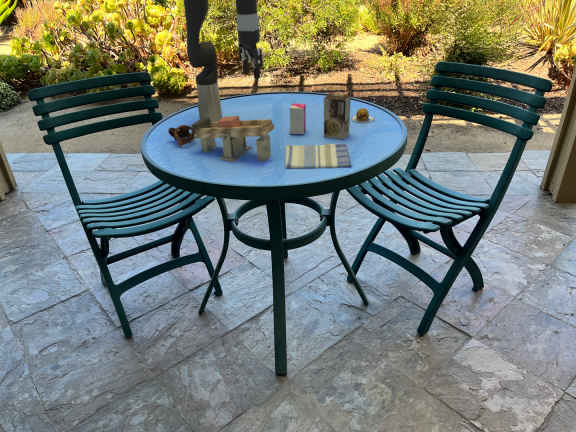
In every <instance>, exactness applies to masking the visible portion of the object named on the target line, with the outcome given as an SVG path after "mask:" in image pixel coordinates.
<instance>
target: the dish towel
mask: <svg viewBox="0 0 576 432" xmlns="http://www.w3.org/2000/svg"><path fill="white" fill-rule="evenodd" d="M284 167H285V169H333V168H334V169H339V168H341V167H343V168H350V167H352V163H351V158H350V154H349V150H348V147H347V144H346V143H331V144H330V143H327V144H325V143H324V144H323V145H322V144H321V145H317V144H316V145H315V144H302V145H292V144H288V145H285V165H284Z"/></svg>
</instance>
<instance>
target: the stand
mask: <svg viewBox="0 0 576 432" xmlns="http://www.w3.org/2000/svg"><path fill="white" fill-rule="evenodd" d="M270 137H271V136H270V134H267V135H266V136H263V137H258V138H257V139H256V140H255V145H256V156H257V158H256V159H257V162H260V163H265V161H267V160H268V159H269V158H270V157H272V153H271V151H272V150H271V140H270V139H271V138H270ZM199 139H200V145H201V152H202V153H206V154H209V152H211V151H213V150H215V148H217V145H216V144H217V143H216V138H199ZM221 140H222V142H221V143H222V147H223V154H222V155H220V157H219V160H220V161H226V162H231V163H235V162H236V161H237V160H239V159H240V158H241V157H242V156H243V155H245V154H246V153H247V152H248V151H250V150H252V145H247V137H230V134H228V133H222V138H221Z"/></svg>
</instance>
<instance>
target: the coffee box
mask: <svg viewBox="0 0 576 432" xmlns="http://www.w3.org/2000/svg"><path fill="white" fill-rule="evenodd" d="M350 117H351V94H344V93H343V94H341V93H330V92H329V93H327V94H326V96H324V98H323V137H324V138H328V139H329V138H330V139H335V140H346V139H347V138H348V137H349V136H350V125H351V124H350V123H351V120H350V119H351V118H350Z"/></svg>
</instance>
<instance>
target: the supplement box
mask: <svg viewBox="0 0 576 432" xmlns="http://www.w3.org/2000/svg"><path fill="white" fill-rule="evenodd" d="M291 103H292V102H291ZM306 107H307V105H306V104H305V103H292V104H291V105H290V106H289V135H290V136H304V135H305V132H306V128H307V127H306V126H307V125H306V119H307V118H306V115H307V114H306V113H307V111H306V110H307V108H306Z"/></svg>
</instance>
